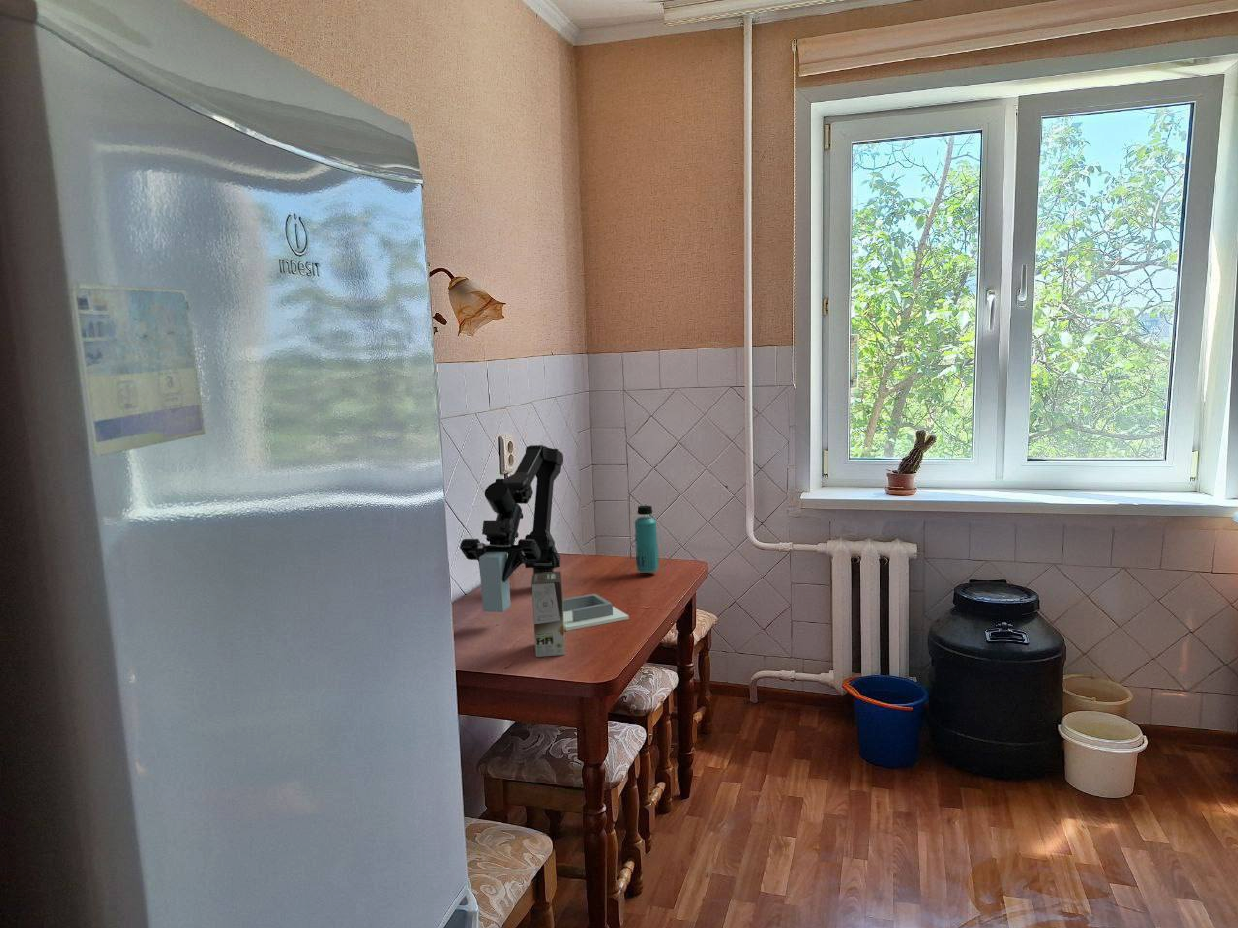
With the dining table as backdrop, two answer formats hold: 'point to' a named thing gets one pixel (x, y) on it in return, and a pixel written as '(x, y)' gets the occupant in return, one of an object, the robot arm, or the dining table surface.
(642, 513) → the beverage bottle
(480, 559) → the blue-grey tall block
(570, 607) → the plate
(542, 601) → the coffee box
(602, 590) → the dining table surface
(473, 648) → the dining table surface
